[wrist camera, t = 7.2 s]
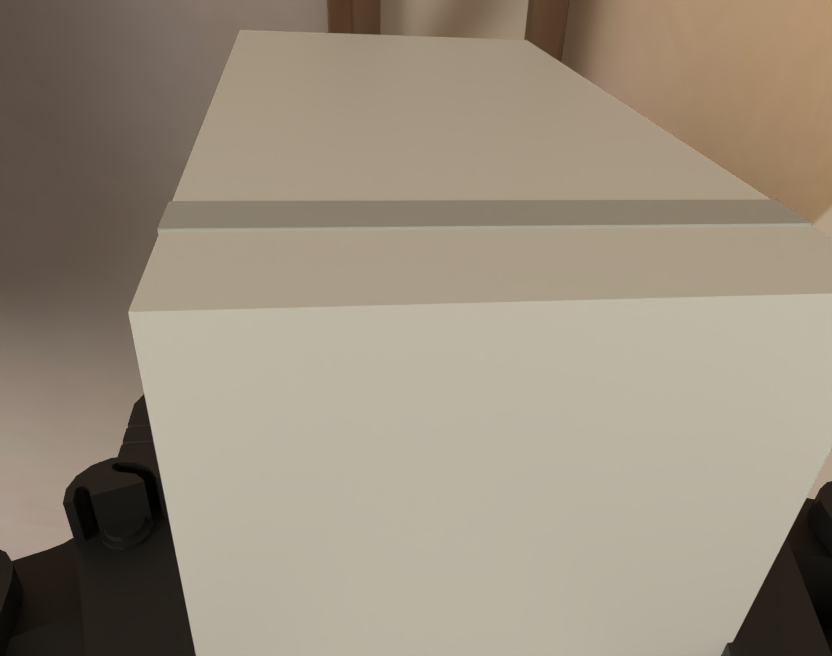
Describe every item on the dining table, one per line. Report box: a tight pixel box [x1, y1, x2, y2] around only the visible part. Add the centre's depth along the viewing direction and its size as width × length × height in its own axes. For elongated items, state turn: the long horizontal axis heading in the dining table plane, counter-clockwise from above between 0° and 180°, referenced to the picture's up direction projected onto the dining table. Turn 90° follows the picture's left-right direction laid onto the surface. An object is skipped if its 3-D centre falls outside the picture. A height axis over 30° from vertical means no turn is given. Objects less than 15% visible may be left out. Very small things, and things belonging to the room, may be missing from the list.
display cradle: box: [327, 0, 569, 62], centre depth 34 cm, size 12×20×4 cm, turn 178°
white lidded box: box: [128, 30, 832, 656], centre depth 13 cm, size 6×12×11 cm, turn 177°
